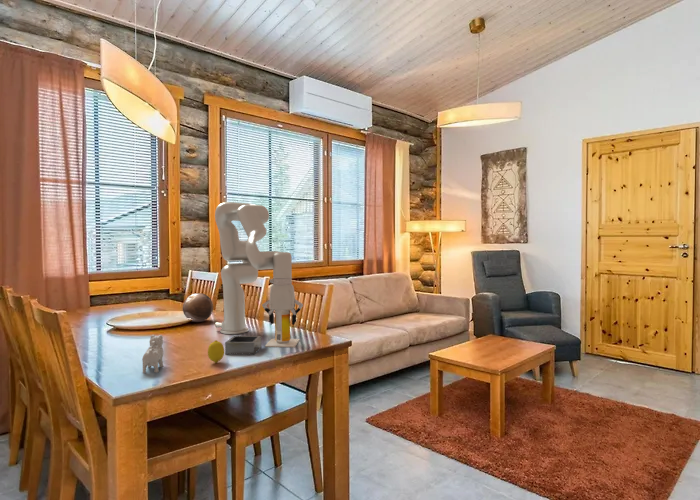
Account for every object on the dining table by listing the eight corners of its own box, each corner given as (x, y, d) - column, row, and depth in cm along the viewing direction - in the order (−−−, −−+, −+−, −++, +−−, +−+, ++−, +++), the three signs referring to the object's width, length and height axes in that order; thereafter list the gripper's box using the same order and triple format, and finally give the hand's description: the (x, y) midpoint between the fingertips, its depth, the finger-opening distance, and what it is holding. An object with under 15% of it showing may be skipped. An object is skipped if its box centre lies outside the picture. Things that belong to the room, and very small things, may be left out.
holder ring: (225, 354, 168) (225, 342, 168) (234, 347, 179) (233, 335, 179) (254, 354, 168) (254, 342, 167) (261, 347, 179) (261, 336, 178)
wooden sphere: (176, 323, 227) (176, 294, 226) (195, 318, 241) (194, 291, 241) (202, 325, 223) (201, 295, 222) (219, 320, 237) (218, 292, 236)
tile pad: (265, 347, 179) (265, 345, 179) (271, 340, 191) (271, 338, 191) (294, 347, 178) (294, 345, 178) (299, 340, 190) (299, 338, 190)
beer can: (292, 340, 187) (292, 305, 187) (286, 343, 181) (285, 307, 181) (279, 339, 189) (279, 304, 188) (272, 343, 183) (272, 306, 183)
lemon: (209, 361, 159) (209, 338, 159) (225, 360, 159) (225, 338, 159) (206, 365, 154) (205, 342, 153) (222, 365, 154) (222, 342, 154)
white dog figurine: (166, 362, 157) (166, 332, 157) (158, 373, 145) (157, 341, 145) (150, 363, 156) (149, 333, 156) (140, 374, 144) (140, 341, 144)
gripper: (259, 283, 181) (259, 325, 181) (302, 283, 180) (302, 326, 180) (263, 281, 188) (264, 322, 189) (304, 281, 187) (304, 322, 188)
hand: (282, 323), depth 184 cm, fingers open, 8 cm apart
